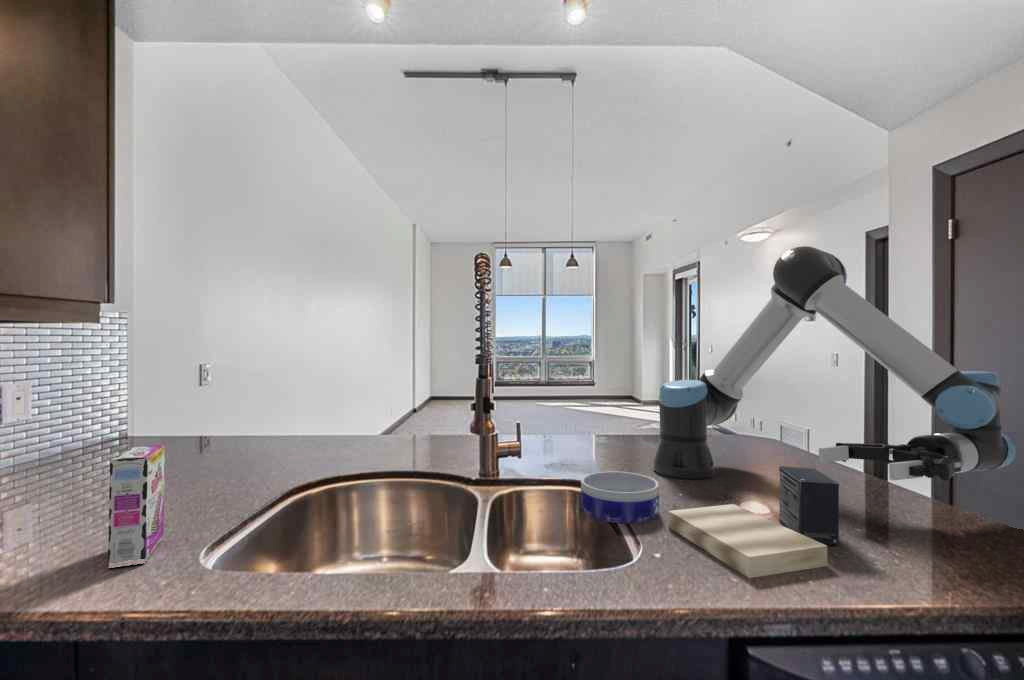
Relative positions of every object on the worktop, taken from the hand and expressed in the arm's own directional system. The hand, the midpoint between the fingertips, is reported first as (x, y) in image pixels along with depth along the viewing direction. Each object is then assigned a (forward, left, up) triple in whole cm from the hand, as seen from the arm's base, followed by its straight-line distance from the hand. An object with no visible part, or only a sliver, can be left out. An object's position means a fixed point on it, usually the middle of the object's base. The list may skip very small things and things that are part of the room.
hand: (853, 462), depth 88 cm
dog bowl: (-20, -36, -12) cm, 43 cm away
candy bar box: (-23, -120, -12) cm, 123 cm away
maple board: (+1, -25, -12) cm, 28 cm away
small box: (0, -10, -12) cm, 16 cm away
